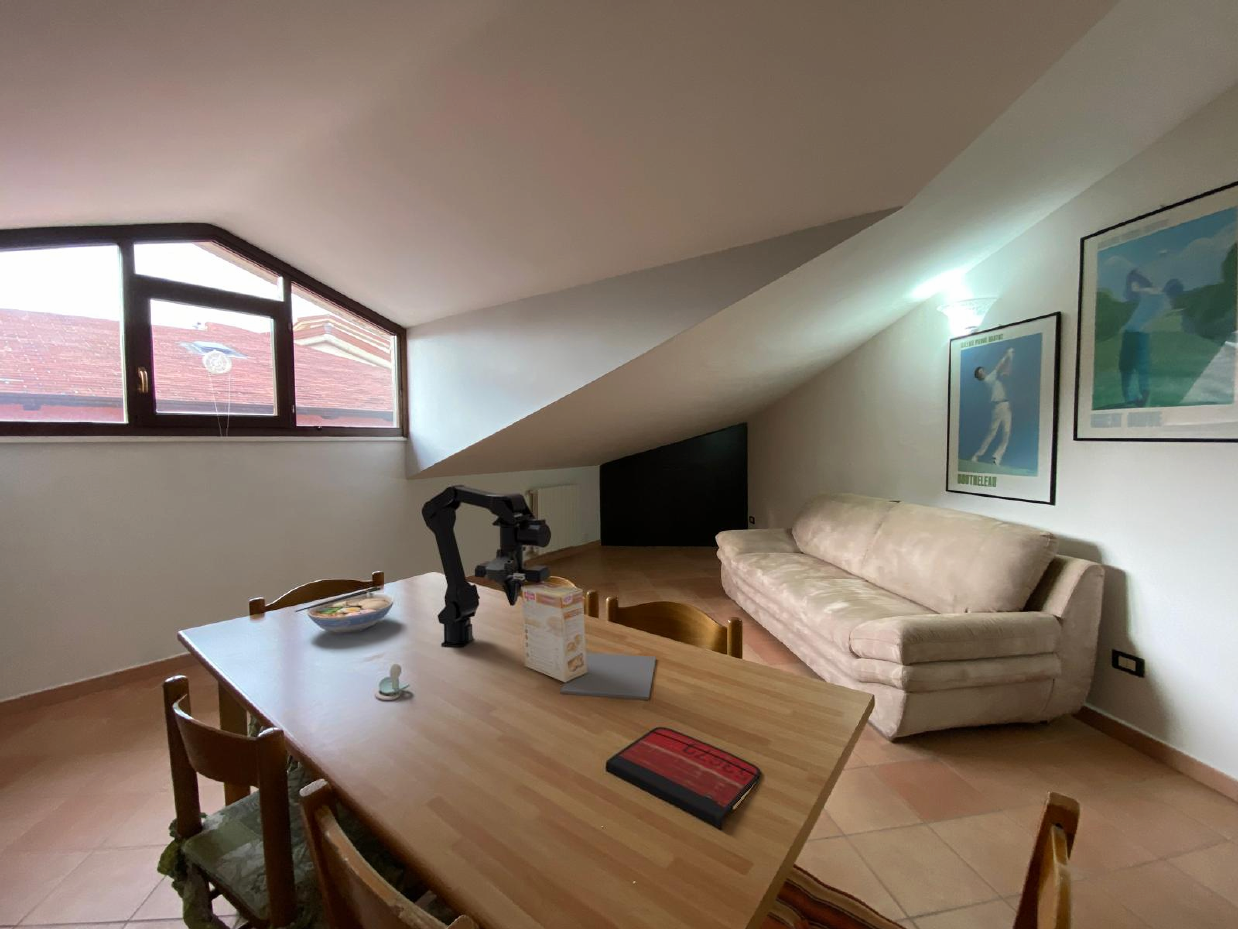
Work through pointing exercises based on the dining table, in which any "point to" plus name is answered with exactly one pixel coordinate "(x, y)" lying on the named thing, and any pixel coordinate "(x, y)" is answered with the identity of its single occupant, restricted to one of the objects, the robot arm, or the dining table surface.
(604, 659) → the mat
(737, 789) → the binder
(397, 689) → the pacifier
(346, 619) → the ramen bowl
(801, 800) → the dining table surface
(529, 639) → the coffeecake box
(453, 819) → the dining table surface
